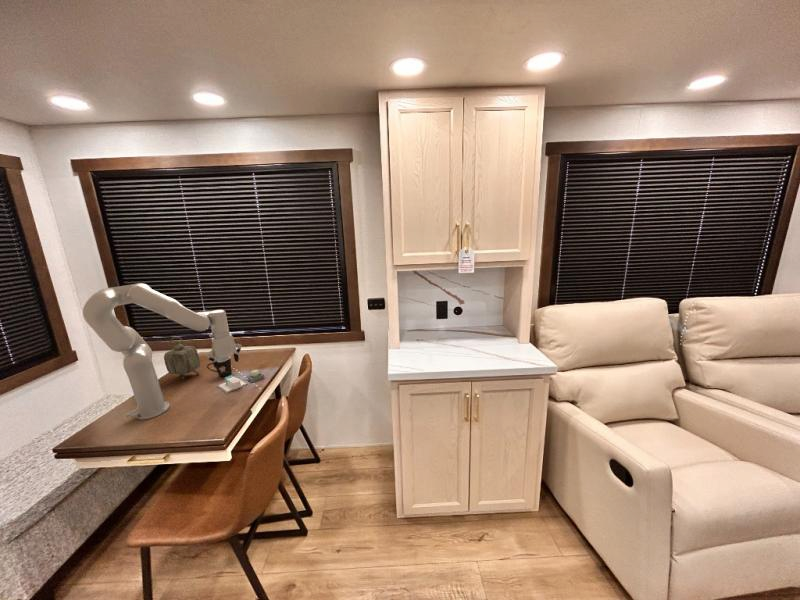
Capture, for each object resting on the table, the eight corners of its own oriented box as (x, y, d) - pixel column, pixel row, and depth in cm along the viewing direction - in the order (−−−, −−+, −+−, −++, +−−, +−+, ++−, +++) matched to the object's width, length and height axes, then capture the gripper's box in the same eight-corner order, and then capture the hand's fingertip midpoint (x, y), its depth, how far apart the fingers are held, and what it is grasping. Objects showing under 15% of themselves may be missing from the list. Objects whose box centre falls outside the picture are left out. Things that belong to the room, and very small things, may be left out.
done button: (253, 378, 166) (252, 373, 165) (250, 376, 169) (249, 371, 168) (260, 375, 169) (259, 370, 168) (257, 373, 171) (256, 369, 171)
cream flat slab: (226, 393, 155) (226, 392, 155) (216, 386, 164) (216, 385, 164) (248, 384, 163) (247, 383, 163) (237, 377, 172) (237, 376, 172)
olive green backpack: (203, 373, 181) (193, 334, 174) (191, 381, 172) (180, 340, 166) (181, 373, 182) (170, 334, 176) (168, 381, 173) (156, 340, 167)
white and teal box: (234, 389, 158) (233, 383, 157) (226, 383, 165) (224, 377, 164) (241, 386, 160) (240, 380, 159) (232, 380, 167) (231, 375, 166)
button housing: (252, 382, 165) (252, 379, 164) (247, 379, 169) (246, 376, 168) (264, 377, 169) (263, 374, 169) (259, 374, 174) (258, 371, 173)
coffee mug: (237, 371, 180) (233, 355, 177) (227, 378, 172) (224, 362, 169) (218, 371, 181) (215, 356, 179) (208, 378, 173) (204, 362, 170)
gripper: (204, 340, 147) (211, 372, 151) (241, 330, 160) (246, 360, 163) (199, 337, 151) (206, 369, 155) (235, 328, 164) (240, 357, 168)
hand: (227, 364), depth 159 cm, fingers open, 9 cm apart
